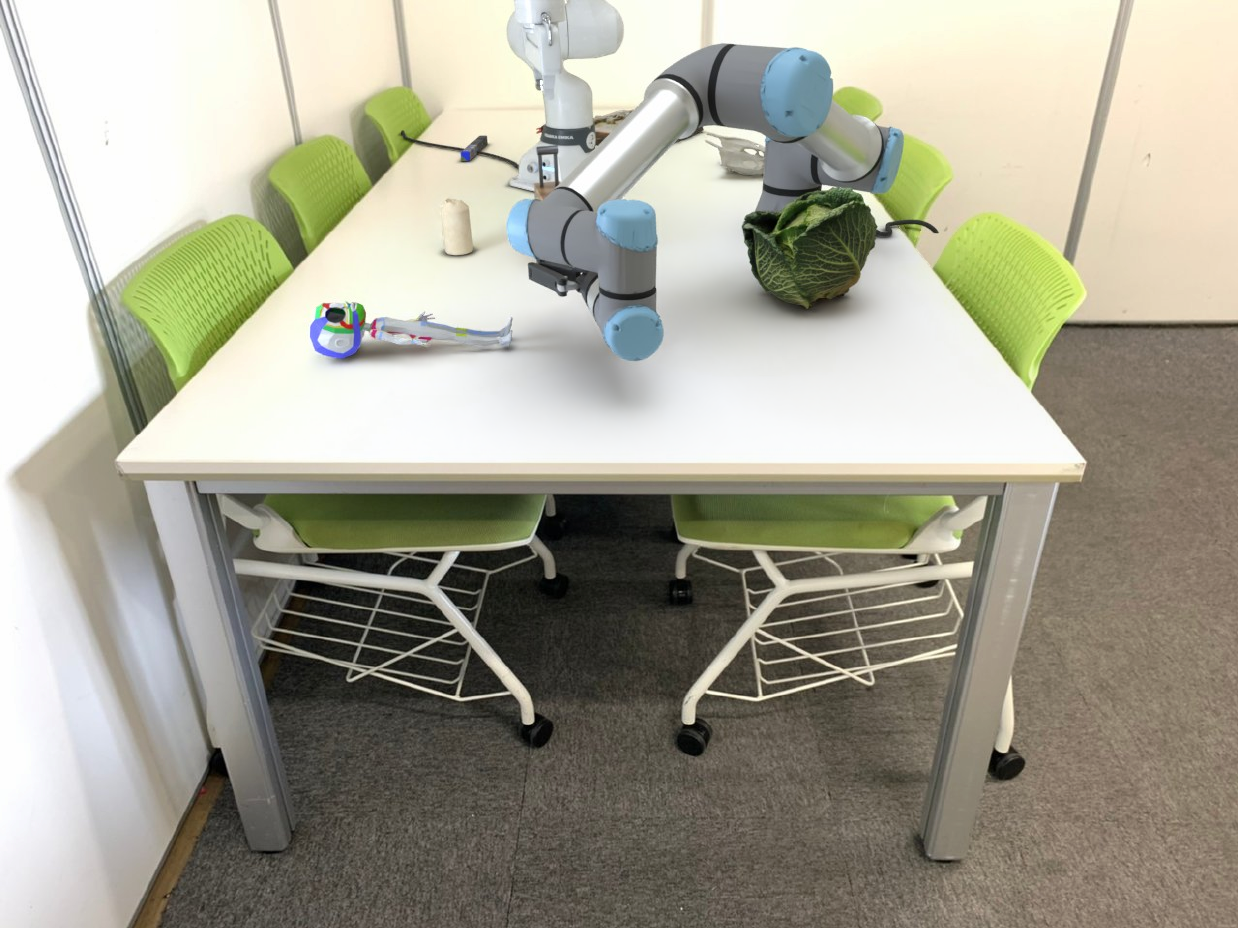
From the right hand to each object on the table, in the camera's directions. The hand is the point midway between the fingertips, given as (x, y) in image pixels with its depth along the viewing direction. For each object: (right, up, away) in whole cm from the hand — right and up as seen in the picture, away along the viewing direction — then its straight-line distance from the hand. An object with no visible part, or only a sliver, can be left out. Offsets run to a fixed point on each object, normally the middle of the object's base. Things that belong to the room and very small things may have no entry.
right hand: (583, 249), depth 146 cm
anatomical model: (+40, +37, +77) cm, 94 cm away
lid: (-6, +15, +24) cm, 29 cm away
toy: (-25, -17, -8) cm, 32 cm away
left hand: (-8, +33, +19) cm, 39 cm away
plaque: (+10, +60, +113) cm, 129 cm away
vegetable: (+38, -7, +7) cm, 39 cm away
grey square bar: (-34, +50, +99) cm, 116 cm away
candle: (-26, +7, +30) cm, 40 cm away
